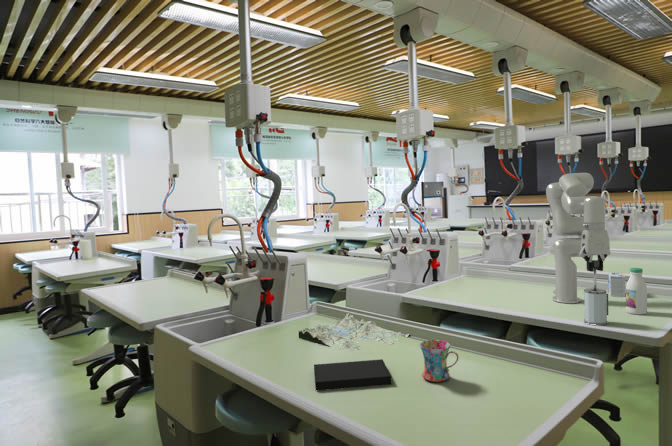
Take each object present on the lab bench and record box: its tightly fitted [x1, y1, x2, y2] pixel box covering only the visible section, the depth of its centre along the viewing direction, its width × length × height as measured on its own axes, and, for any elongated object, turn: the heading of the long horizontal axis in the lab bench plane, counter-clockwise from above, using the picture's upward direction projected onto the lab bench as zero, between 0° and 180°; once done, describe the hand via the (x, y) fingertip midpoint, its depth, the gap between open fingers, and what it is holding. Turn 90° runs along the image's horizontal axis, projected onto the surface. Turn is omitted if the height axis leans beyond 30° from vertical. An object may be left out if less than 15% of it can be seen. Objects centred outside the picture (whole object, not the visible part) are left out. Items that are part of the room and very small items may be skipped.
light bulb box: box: [607, 272, 626, 298], centre depth 228 cm, size 11×7×11 cm, turn 154°
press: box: [583, 287, 609, 326], centre depth 183 cm, size 8×9×14 cm
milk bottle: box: [625, 267, 648, 316], centre depth 194 cm, size 8×8×20 cm
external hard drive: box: [313, 359, 392, 391], centre depth 139 cm, size 14×23×3 cm, turn 95°
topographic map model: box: [298, 312, 411, 352], centre depth 179 cm, size 36×29×5 cm
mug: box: [419, 339, 460, 383], centre depth 135 cm, size 12×9×11 cm
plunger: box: [592, 259, 600, 291], centre depth 182 cm, size 6×6×15 cm
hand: (594, 270), depth 182 cm, fingers closed on plunger, 3 cm apart
